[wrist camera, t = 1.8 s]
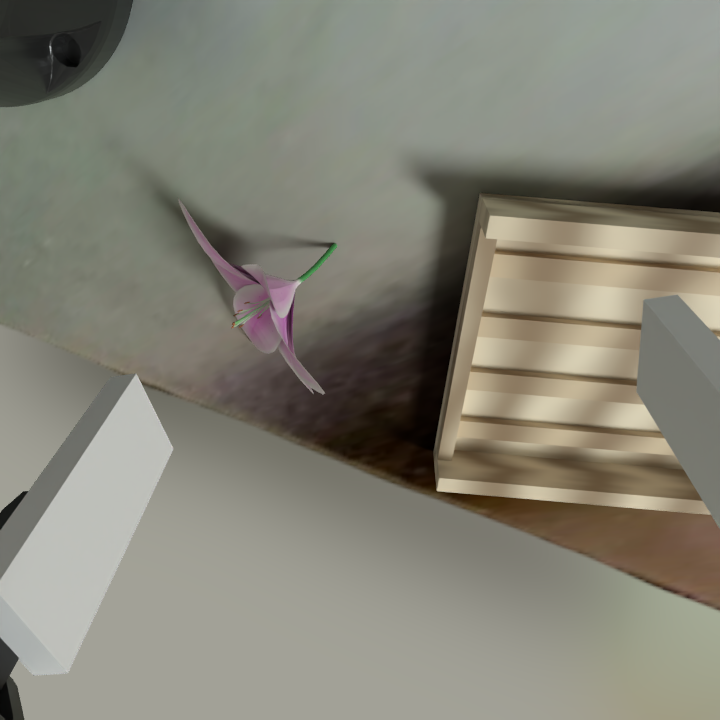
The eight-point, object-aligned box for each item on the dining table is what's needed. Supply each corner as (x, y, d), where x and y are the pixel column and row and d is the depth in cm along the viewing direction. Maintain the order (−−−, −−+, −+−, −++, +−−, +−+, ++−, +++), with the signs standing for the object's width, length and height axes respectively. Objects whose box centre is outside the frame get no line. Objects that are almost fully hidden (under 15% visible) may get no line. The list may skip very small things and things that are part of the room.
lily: (214, 133, 32) (94, 230, 27) (406, 179, 28) (311, 302, 23) (253, 290, 41) (169, 386, 36) (402, 340, 38) (334, 455, 32)
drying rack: (433, 451, 42) (436, 491, 39) (479, 192, 32) (489, 215, 29) (717, 476, 42) (745, 517, 39) (855, 223, 32) (910, 250, 28)
